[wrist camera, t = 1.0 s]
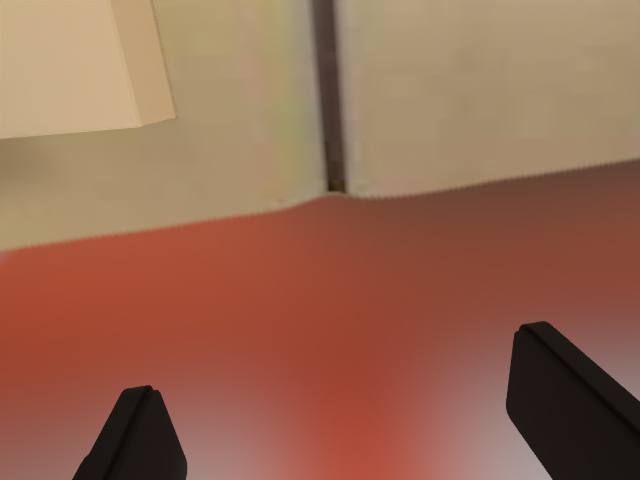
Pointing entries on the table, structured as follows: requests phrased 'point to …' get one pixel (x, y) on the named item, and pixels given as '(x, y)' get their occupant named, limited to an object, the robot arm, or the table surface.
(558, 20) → the table surface
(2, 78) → the carton lid
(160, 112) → the carton
